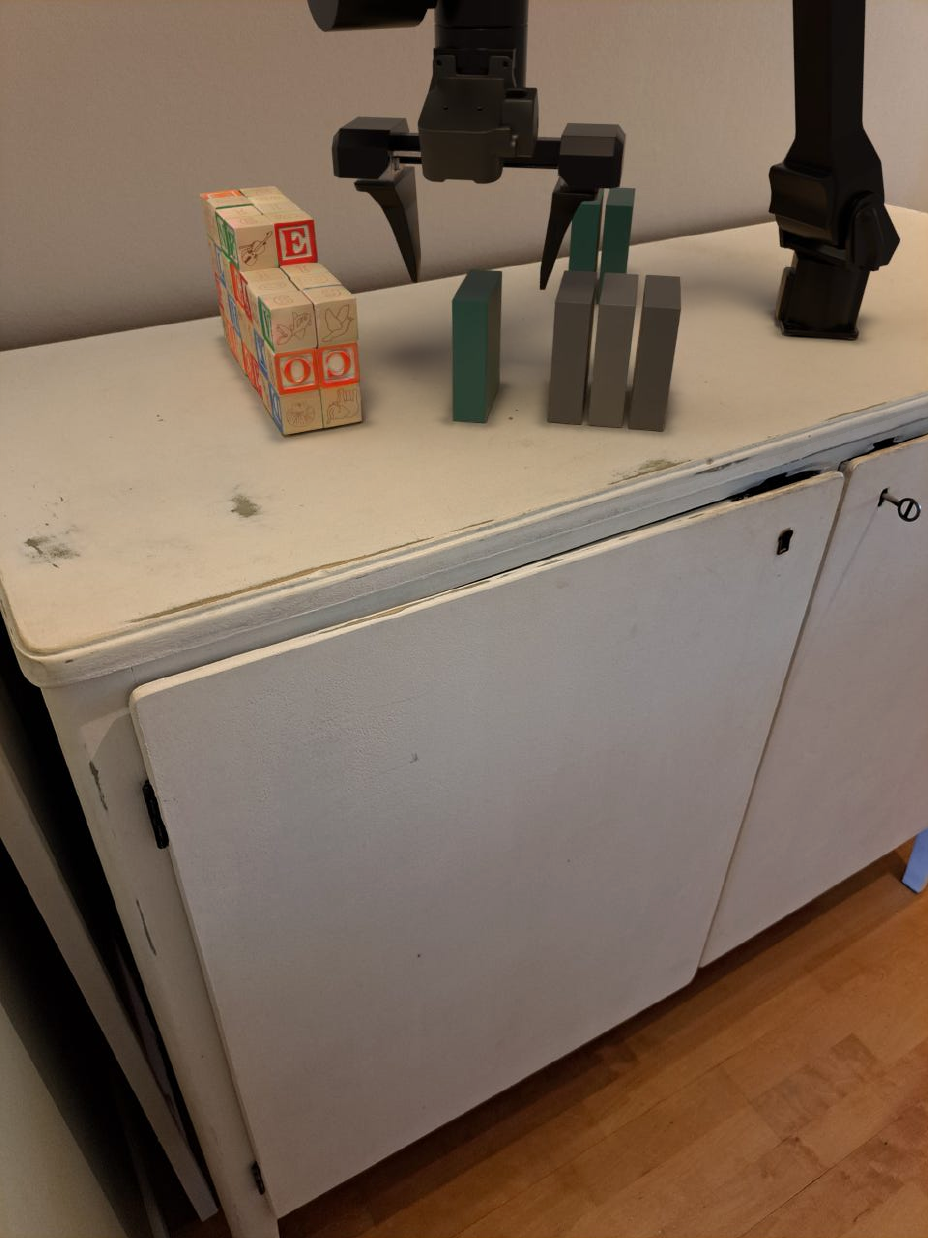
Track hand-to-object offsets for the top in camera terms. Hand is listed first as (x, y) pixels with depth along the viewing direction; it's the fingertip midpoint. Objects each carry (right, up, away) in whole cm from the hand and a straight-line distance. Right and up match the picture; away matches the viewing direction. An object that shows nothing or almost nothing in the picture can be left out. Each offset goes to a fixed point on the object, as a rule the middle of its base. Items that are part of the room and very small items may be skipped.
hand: (479, 284), depth 65 cm
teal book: (0, -7, +5) cm, 9 cm away
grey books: (+10, -8, +5) cm, 13 cm away
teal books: (+12, +9, +26) cm, 30 cm away
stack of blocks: (-16, -4, +9) cm, 19 cm away
